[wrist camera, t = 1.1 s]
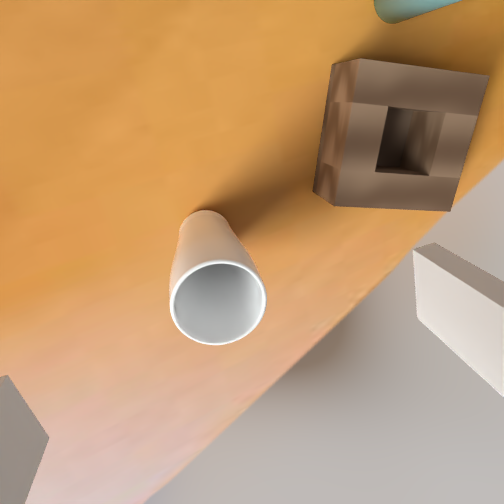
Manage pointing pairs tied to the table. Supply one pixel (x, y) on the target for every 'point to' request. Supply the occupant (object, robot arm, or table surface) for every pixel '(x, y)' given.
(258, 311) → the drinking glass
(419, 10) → the dowel
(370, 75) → the bore block
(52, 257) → the table surface
